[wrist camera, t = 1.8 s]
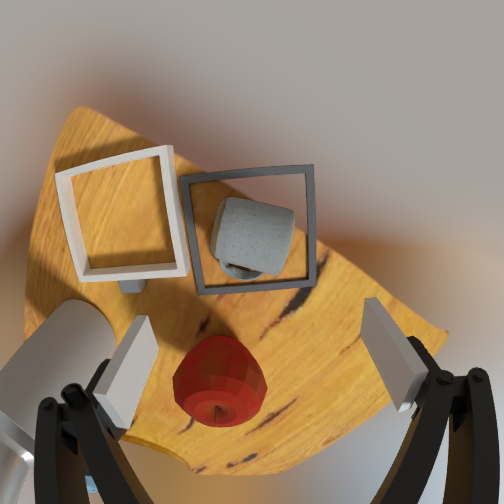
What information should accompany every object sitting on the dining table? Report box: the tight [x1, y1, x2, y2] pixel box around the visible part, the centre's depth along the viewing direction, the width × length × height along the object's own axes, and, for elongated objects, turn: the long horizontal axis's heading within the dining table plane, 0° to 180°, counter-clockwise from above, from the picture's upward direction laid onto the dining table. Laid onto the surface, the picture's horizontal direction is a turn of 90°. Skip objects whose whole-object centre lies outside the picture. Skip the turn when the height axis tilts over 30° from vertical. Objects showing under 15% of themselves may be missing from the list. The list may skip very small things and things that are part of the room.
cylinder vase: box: [0, 299, 116, 455], centre depth 28 cm, size 12×12×25 cm
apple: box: [173, 335, 267, 427], centre depth 34 cm, size 12×12×14 cm
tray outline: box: [180, 164, 316, 296], centre depth 34 cm, size 16×16×1 cm
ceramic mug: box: [210, 197, 295, 281], centre depth 31 cm, size 11×8×8 cm
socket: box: [55, 145, 191, 294], centre depth 32 cm, size 17×18×2 cm
